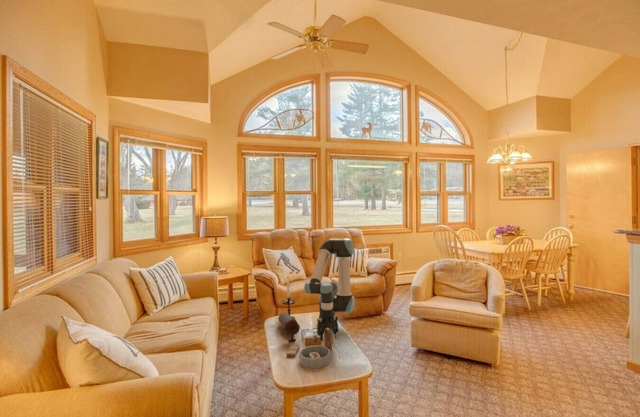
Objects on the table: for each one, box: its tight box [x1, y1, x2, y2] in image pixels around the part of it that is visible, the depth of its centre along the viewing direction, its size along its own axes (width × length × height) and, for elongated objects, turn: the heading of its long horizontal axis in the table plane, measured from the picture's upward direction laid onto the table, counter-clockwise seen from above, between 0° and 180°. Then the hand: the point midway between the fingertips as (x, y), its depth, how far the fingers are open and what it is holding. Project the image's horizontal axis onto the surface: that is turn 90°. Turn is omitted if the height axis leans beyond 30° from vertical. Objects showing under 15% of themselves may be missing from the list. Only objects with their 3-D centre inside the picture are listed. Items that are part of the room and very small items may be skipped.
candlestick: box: [281, 276, 296, 320], centre depth 267 cm, size 11×11×35 cm
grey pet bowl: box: [298, 345, 331, 369], centre depth 196 cm, size 18×18×5 cm
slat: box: [286, 344, 300, 358], centre depth 208 cm, size 12×5×2 cm, turn 171°
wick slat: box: [324, 328, 333, 351], centre depth 213 cm, size 2×5×12 cm, turn 23°
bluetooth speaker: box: [278, 312, 292, 329], centre depth 245 cm, size 23×9×10 cm, turn 21°
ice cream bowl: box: [283, 318, 301, 343], centre depth 225 cm, size 11×11×15 cm
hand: (328, 344), depth 213 cm, fingers open, 6 cm apart
